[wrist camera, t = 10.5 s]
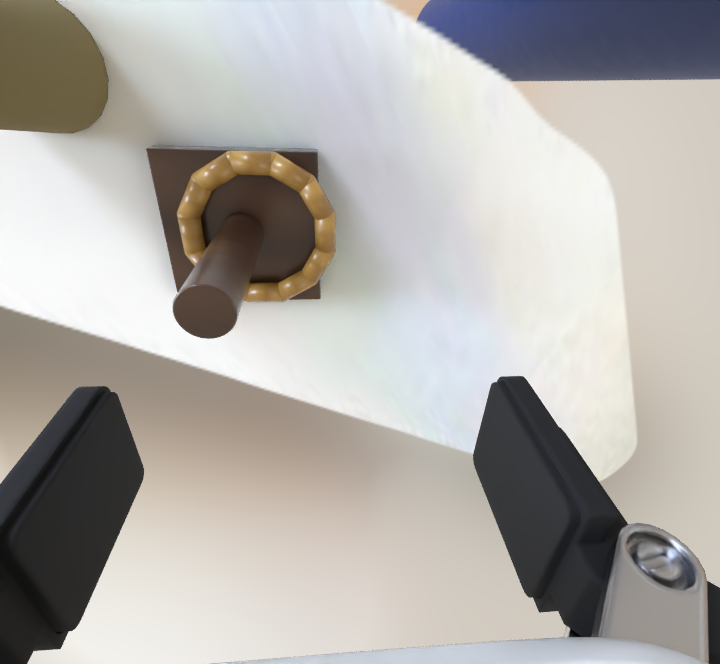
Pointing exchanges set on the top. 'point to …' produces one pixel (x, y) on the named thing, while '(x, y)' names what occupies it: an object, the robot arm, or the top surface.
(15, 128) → the cork
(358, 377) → the top surface
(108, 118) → the top surface
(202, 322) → the rack
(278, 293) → the ring
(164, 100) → the top surface
